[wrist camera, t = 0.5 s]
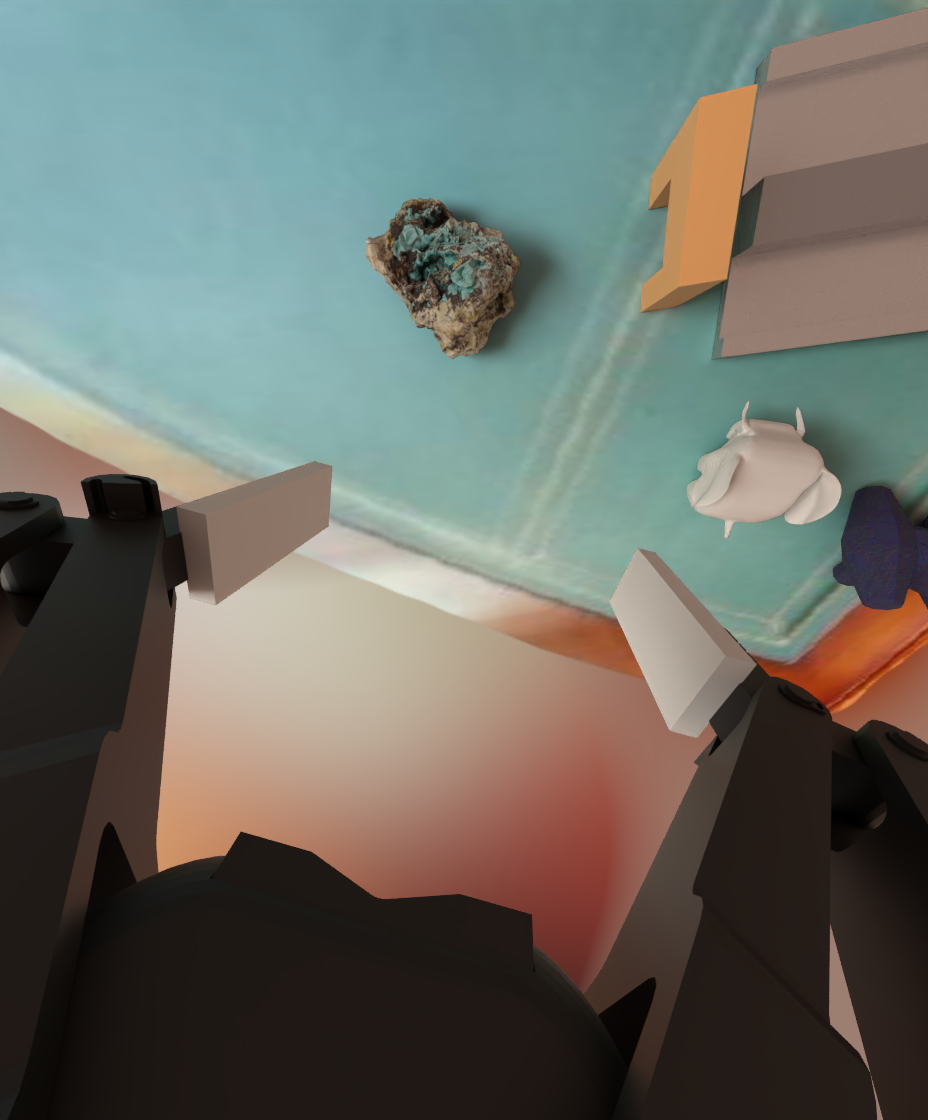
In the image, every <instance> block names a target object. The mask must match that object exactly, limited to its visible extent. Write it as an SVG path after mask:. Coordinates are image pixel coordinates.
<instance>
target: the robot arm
mask: <svg viewBox="0 0 928 1120" xmlns="http://www.w3.org/2000/svg"><path fill="white" fill-rule="evenodd" d="M331 478H332V466H330V465H326V464H323V463H319V462H315V461H314V462H311V463H308V464H305V465H302V466H299V467H296V468H293V469H290V470H287V471H284V472H281V473H278V474H275V475H271V476H268V477H265V478H262V479H259V480H256V481H253V482H250V483H247V484H244V485H241V486H238V487H235V488H232V489H229V490H226V491H223V492H219V493H216V494H213V495H210V496H207V497H204V498H201V499H198V500H195V501H192V502H189V503H185V504H182V505H179V506H176V507H173V508H170V509H167V510H164V511H162V509H161V503H160V497H159V491H158V485H157V483H156V481H154V480H152V479H150V478H147V477H142V476H137V475H127V474H109V475H98V476H94V477H90V478H86V479H84V480H83V481H81V484H82V488H83V492H84V496H85V499H86V503H87V507H88V511H89V514H90V516H89V517H88V519H83V518H74V517H65V516H63V513H62V510H61V507H60V504H59V501H58V500H57V499H56V498H54V497H51V496H48V495H41V494H33V493H31V494H30V493H25V492H5V493H0V1120H877V1112H876V1111H877V1110H876V1100H875V1095H874V1090H873V1085H872V1080H873V1084H874V1087H875V1091H876V1094H877V1098H878V1102H879V1106H880V1110H881V1113H882V1117H883V1120H928V744H926V743H925V742H924V741H922V740H921V739H918V738H917V737H916V736H914V735H913V734H911V733H909V732H907V731H903V730H900V729H899V728H897V727H895V726H892V725H890V724H887V723H885V722H882V721H878V720H871V721H868V722H867V723H866V724H865V725H864V726H863V727H862V728H860V729H859V730H858V731H857V732H856V731H854V730H851V729H849V728H847V727H845V726H842V725H840V724H838V723H836V722H833V721H832V716H831V714H830V711H829V710H828V709H827V708H826V706H825V705H823V703H822V702H820V701H819V700H818V699H817V698H815V697H814V696H813V695H812V694H810V693H809V692H808V691H806V690H805V689H803V688H801V687H799V686H797V685H795V684H793V683H791V682H789V681H787V680H784V679H781V678H778V677H770V676H769V675H768V674H767V673H766V672H765V671H764V670H763V668H762V667H761V666H760V665H759V664H758V663H757V662H756V661H755V660H754V659H753V657H752V656H751V655H750V654H749V653H747V652H746V650H745V649H744V648H743V647H742V645H741V644H739V643H738V641H737V640H736V639H735V638H734V637H733V636H732V635H731V633H730V632H729V631H728V630H726V629H725V628H724V627H722V625H721V624H720V623H719V622H718V621H717V620H716V619H715V618H714V617H713V616H712V614H711V613H710V612H709V611H708V610H707V609H706V608H705V607H704V606H703V604H702V603H701V602H700V601H699V600H698V599H697V598H696V597H695V596H694V595H693V593H692V592H691V591H690V590H689V589H688V588H687V587H686V586H685V585H684V584H683V582H682V581H681V580H680V579H679V578H678V577H677V576H676V575H675V574H674V573H673V571H672V570H671V569H670V568H669V567H668V566H667V565H666V564H665V563H664V562H663V560H662V559H661V558H660V557H659V556H658V555H657V554H656V553H654V552H651V551H647V550H643V549H639V548H637V550H636V552H635V554H634V556H633V558H632V560H631V562H630V564H629V566H628V568H627V570H626V572H625V573H624V575H623V577H622V579H621V581H620V583H619V585H618V587H617V589H616V591H615V593H614V595H613V597H612V599H611V601H610V604H611V606H612V608H613V610H614V612H615V614H616V617H617V619H618V621H619V623H620V625H621V627H622V629H623V632H624V634H625V636H626V638H627V640H628V642H629V644H630V647H631V649H632V651H633V653H634V655H635V657H636V659H637V662H638V664H639V666H640V668H641V670H642V672H643V674H644V676H645V679H646V681H647V683H648V685H649V687H650V689H651V691H652V694H653V696H654V698H655V700H656V702H657V704H658V706H659V709H660V711H661V713H662V715H663V717H664V719H665V721H666V724H667V726H668V728H669V730H670V731H674V732H677V733H681V734H685V735H688V736H692V737H696V738H697V737H698V736H699V735H700V733H701V732H702V731H703V730H704V729H705V727H706V726H707V725H708V724H709V722H710V724H711V726H712V727H713V729H714V731H715V732H716V734H717V736H716V737H715V738H714V740H713V741H712V742H711V743H710V744H709V745H708V746H707V748H706V749H705V750H704V751H703V752H702V753H701V755H700V756H699V757H698V758H697V759H696V760H695V762H694V763H695V764H697V765H699V767H698V769H697V771H696V773H695V775H694V777H693V779H692V781H691V783H690V786H689V788H688V790H687V792H686V794H685V796H684V798H683V800H682V802H681V805H680V806H679V809H678V811H677V813H676V815H675V817H674V819H673V821H672V823H671V825H670V827H669V830H668V832H667V834H666V836H665V838H664V840H663V842H662V844H661V846H660V849H659V851H658V853H657V855H656V857H655V859H654V861H653V863H652V865H651V867H650V869H649V872H648V874H647V876H646V878H645V880H644V882H643V884H642V886H641V888H640V890H639V893H638V895H637V897H636V899H635V901H634V904H633V905H632V907H631V909H630V912H629V914H628V916H627V918H626V920H625V922H624V924H623V926H622V928H621V930H620V932H619V935H618V937H617V939H616V941H615V943H614V945H613V947H612V949H611V952H610V953H609V956H608V958H607V960H606V962H605V963H604V966H603V967H602V969H601V970H600V972H599V974H598V975H597V977H596V978H595V979H594V981H593V982H592V984H591V985H590V986H589V988H588V989H587V991H586V992H585V994H584V995H583V994H582V992H581V991H580V989H579V988H578V987H577V985H576V984H575V983H574V982H573V981H572V980H571V979H570V977H569V976H568V975H567V974H566V973H565V972H564V971H563V970H562V969H561V967H560V966H559V965H558V964H557V963H556V962H554V961H553V960H552V959H551V958H550V957H549V956H548V955H547V954H546V953H544V952H543V951H542V950H541V949H539V948H538V947H537V946H535V945H534V944H533V934H532V933H533V932H532V915H531V914H528V913H524V912H521V911H517V910H514V909H510V908H507V907H503V906H500V905H496V904H493V903H489V902H486V901H482V900H479V899H475V898H472V897H468V896H464V895H461V894H455V895H440V896H427V897H412V898H398V899H380V898H377V897H374V896H372V895H371V894H369V893H368V892H367V891H365V890H364V889H362V888H361V887H360V886H358V885H357V884H355V883H354V882H353V881H351V880H350V879H349V878H347V877H346V876H344V875H343V874H342V873H340V872H339V871H337V870H336V869H335V868H333V867H332V866H330V865H329V864H327V863H326V862H325V861H323V860H322V859H321V858H319V857H318V856H317V855H315V854H314V853H312V852H310V851H307V850H303V849H300V848H296V847H292V846H289V845H286V844H282V843H279V842H275V841H272V840H268V839H265V838H261V837H258V836H254V835H251V834H247V833H244V832H240V834H239V836H238V837H237V839H236V840H235V842H234V843H233V845H232V847H231V848H230V850H229V851H228V853H227V855H226V856H215V857H211V858H205V859H199V860H194V861H191V862H188V863H184V864H181V865H178V866H175V867H171V868H169V869H166V870H164V871H162V872H159V873H158V862H157V850H156V834H157V820H158V809H159V797H160V786H161V774H162V762H163V751H164V738H165V727H166V715H167V704H168V692H169V681H170V669H171V657H172V645H173V633H174V623H175V611H176V592H175V587H176V586H178V585H179V584H181V583H183V582H184V581H186V580H187V583H188V589H189V596H190V598H191V599H195V600H198V601H202V602H206V603H209V604H213V605H217V604H218V603H219V602H221V601H223V600H224V599H225V598H227V597H228V596H230V595H231V594H232V593H234V592H235V591H237V590H238V589H240V588H241V587H242V586H244V585H245V584H247V583H248V582H249V581H251V580H252V579H254V578H255V577H257V576H258V575H260V574H261V573H262V572H264V571H265V570H266V569H268V568H270V567H271V566H272V565H274V564H275V563H277V562H278V561H280V560H281V559H282V558H284V557H285V556H287V555H288V554H290V553H291V552H292V551H294V550H295V549H297V548H298V547H300V546H301V545H302V544H304V543H305V542H307V541H308V540H310V539H311V538H312V537H314V536H315V535H317V534H318V533H319V532H321V531H322V530H324V529H325V528H327V527H328V526H329V510H330V494H331ZM830 924H831V928H832V931H833V935H834V939H835V943H836V946H837V950H838V953H839V957H840V961H841V965H842V969H843V972H844V976H845V980H846V983H847V987H848V991H849V994H850V998H851V1002H852V1006H853V1009H854V1013H855V1016H856V1020H857V1024H858V1028H859V1032H860V1035H861V1039H862V1043H863V1046H864V1050H865V1053H866V1057H867V1061H868V1065H869V1069H870V1072H871V1074H870V1072H869V1070H868V1068H867V1066H866V1065H865V1063H864V1061H863V1059H862V1058H861V1056H860V1054H859V1053H858V1051H857V1050H856V1049H854V1048H853V1046H852V1045H851V1044H850V1043H848V1041H846V1040H845V1038H843V1037H842V1036H841V1035H840V1034H839V1033H838V1032H837V1031H836V1030H835V1029H834V1028H833V1027H832V1026H831V1025H830V1018H829V962H830V959H829V958H830V956H829V955H830ZM871 1076H872V1080H871Z"/></svg>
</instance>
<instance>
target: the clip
mask: <svg viewBox="0 0 928 1120" xmlns="http://www.w3.org/2000/svg"><path fill="white" fill-rule="evenodd" d="M757 85H758V84H754V85H750V86H746V87H742V88H738V89H734V90H730V91H726V92H722V93H718V94H714V95H709V96H705V97H701V98H700V99H699V100H698V102H697V103H696V105H695V107H694V108H693V110H692V111H691V113H690V115H689V116H688V118H687V119H686V121H685V123H684V124H683V126H682V128H681V129H680V131H679V132H678V134H677V136H676V137H675V139H674V140H673V142H672V144H671V145H670V147H669V148H668V150H667V152H666V153H665V155H664V157H663V158H662V160H661V161H660V163H659V165H658V166H657V168H656V169H655V171H654V173H653V174H652V176H651V185H650V198H649V209H654V208H659V207H664V206H668V216H667V226H666V237H665V247H664V257H663V268H662V269H661V270H659V271H658V272H657V273H656V274H655V275H654V276H652V277H651V278H650V279H649V280H648V281H647V282H646V283H644V284H643V287H642V300H641V312H647V311H653V310H660V309H666V308H673V307H677V306H679V305H681V304H683V303H685V302H686V301H688V300H690V299H692V298H694V297H695V296H697V295H699V294H701V293H703V292H704V291H706V290H708V289H710V288H711V287H713V286H715V285H717V284H719V283H720V282H722V281H724V280H726V279H727V275H728V268H729V262H730V256H731V249H732V243H733V237H734V230H735V224H736V218H737V211H738V205H739V199H740V193H741V186H742V180H743V174H744V167H745V161H746V155H747V148H748V142H749V136H750V129H751V123H752V117H753V110H754V104H755V98H756V91H757Z"/></svg>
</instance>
